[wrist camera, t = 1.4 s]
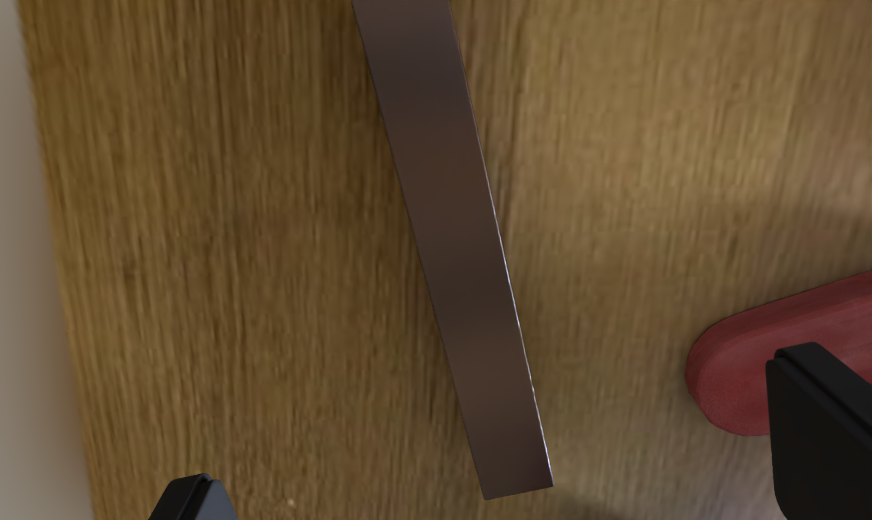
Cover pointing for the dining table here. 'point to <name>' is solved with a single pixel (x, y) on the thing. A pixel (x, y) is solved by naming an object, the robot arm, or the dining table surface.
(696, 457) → the dining table surface
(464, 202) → the stick
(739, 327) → the popsicle
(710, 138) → the dining table surface
